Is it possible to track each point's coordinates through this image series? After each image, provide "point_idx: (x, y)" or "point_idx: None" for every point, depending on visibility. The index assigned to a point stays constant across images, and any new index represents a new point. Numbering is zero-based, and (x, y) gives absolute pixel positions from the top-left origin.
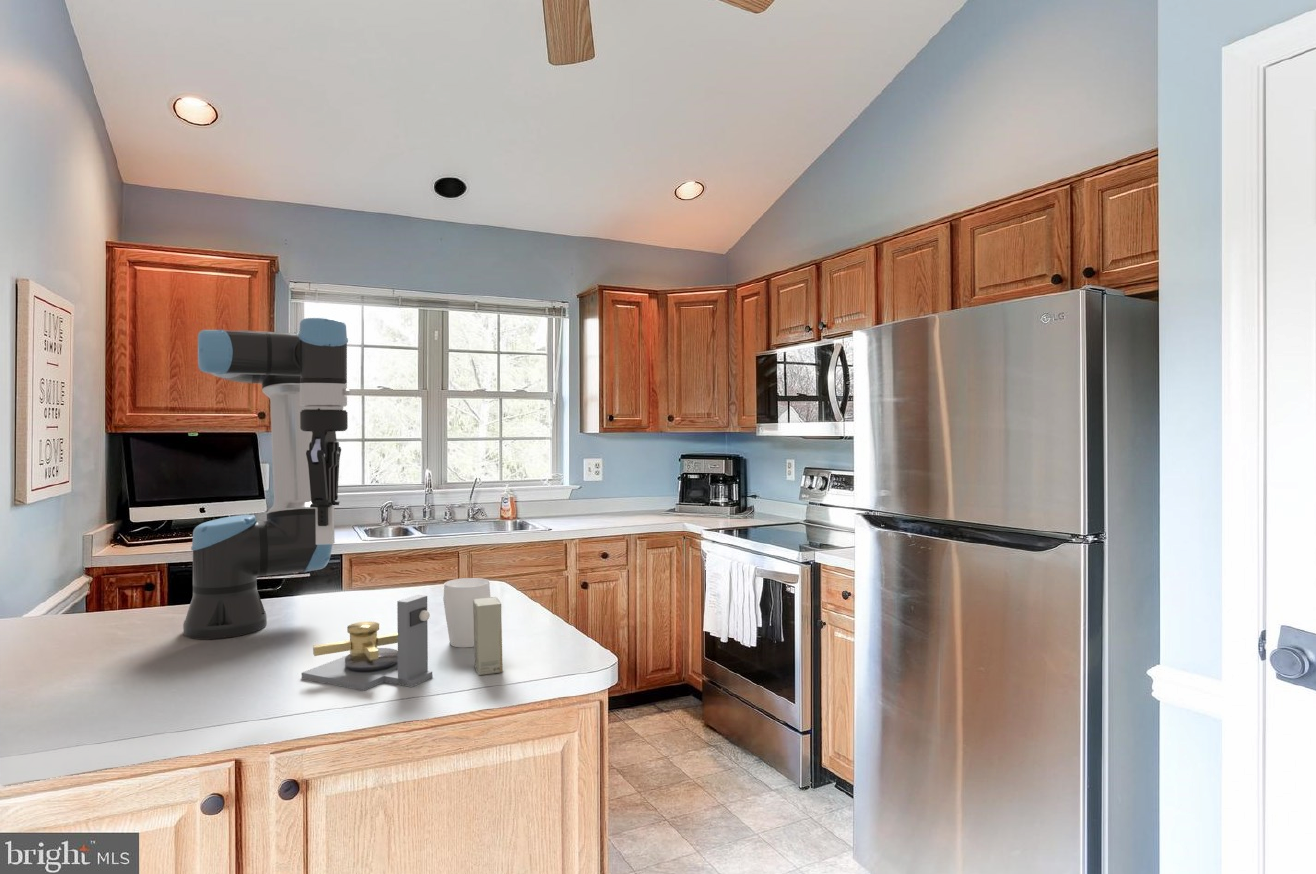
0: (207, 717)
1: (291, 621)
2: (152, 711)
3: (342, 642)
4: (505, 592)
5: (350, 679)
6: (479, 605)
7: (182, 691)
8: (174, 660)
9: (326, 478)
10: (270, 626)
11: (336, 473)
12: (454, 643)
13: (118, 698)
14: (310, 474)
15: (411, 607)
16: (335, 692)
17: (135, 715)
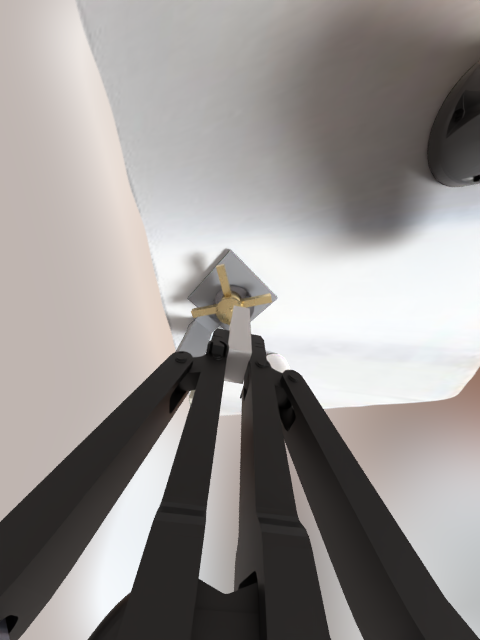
0: (150, 175)
1: (452, 219)
2: (174, 104)
3: (225, 290)
4: (401, 400)
5: (201, 289)
6: (190, 399)
7: (229, 125)
8: (362, 73)
9: (136, 467)
10: (448, 193)
11: (308, 496)
12: (266, 356)
13: (227, 31)
14: (70, 458)
15: None
16: (190, 277)
17: (166, 84)
